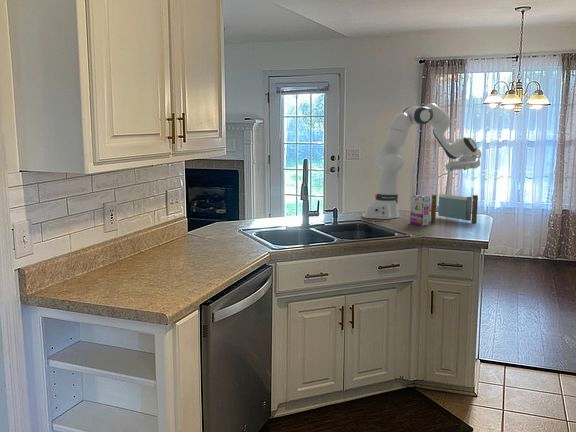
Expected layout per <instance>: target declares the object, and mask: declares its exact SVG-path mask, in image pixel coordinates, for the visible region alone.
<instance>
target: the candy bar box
mask: <svg viewBox="0 0 576 432" xmlns="http://www.w3.org/2000/svg"><path fill="white" fill-rule="evenodd" d="M430 203H431V196H427V195H420V194H411V195H410V215H409V216H410V217H409V218H410V219H409V221H410V222H409V223H410V224H411V225H417V226H420V227H426V226H429V224H430V219H429V218H430V206H431V205H430Z"/></svg>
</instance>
